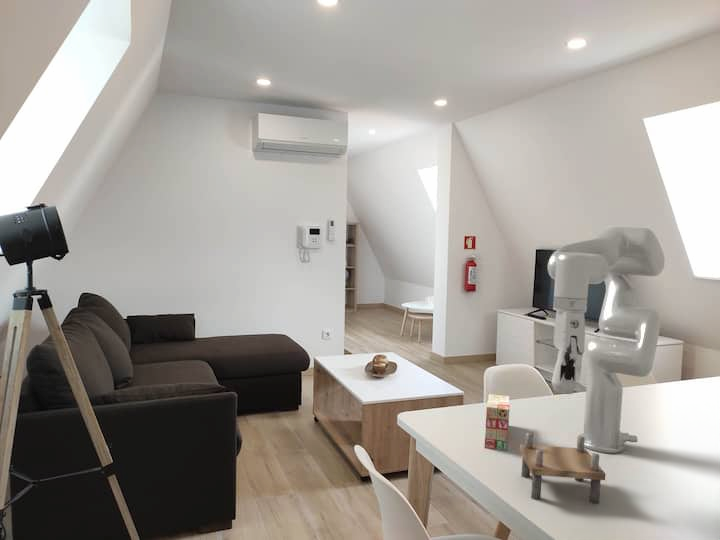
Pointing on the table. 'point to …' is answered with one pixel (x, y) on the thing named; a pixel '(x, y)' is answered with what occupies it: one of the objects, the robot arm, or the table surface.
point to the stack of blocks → (497, 422)
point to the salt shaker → (563, 385)
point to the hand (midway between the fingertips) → (564, 379)
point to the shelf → (561, 465)
